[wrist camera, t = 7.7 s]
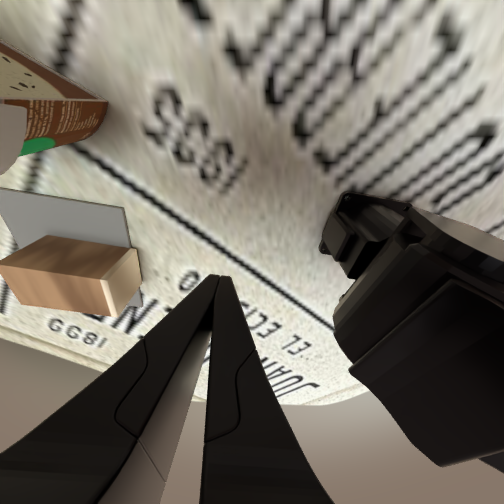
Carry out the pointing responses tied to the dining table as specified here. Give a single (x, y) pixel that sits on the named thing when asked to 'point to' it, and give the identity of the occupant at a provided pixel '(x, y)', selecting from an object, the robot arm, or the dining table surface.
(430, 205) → the dining table surface
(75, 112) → the food container
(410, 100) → the dining table surface
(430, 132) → the dining table surface
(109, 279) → the block
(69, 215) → the mat
